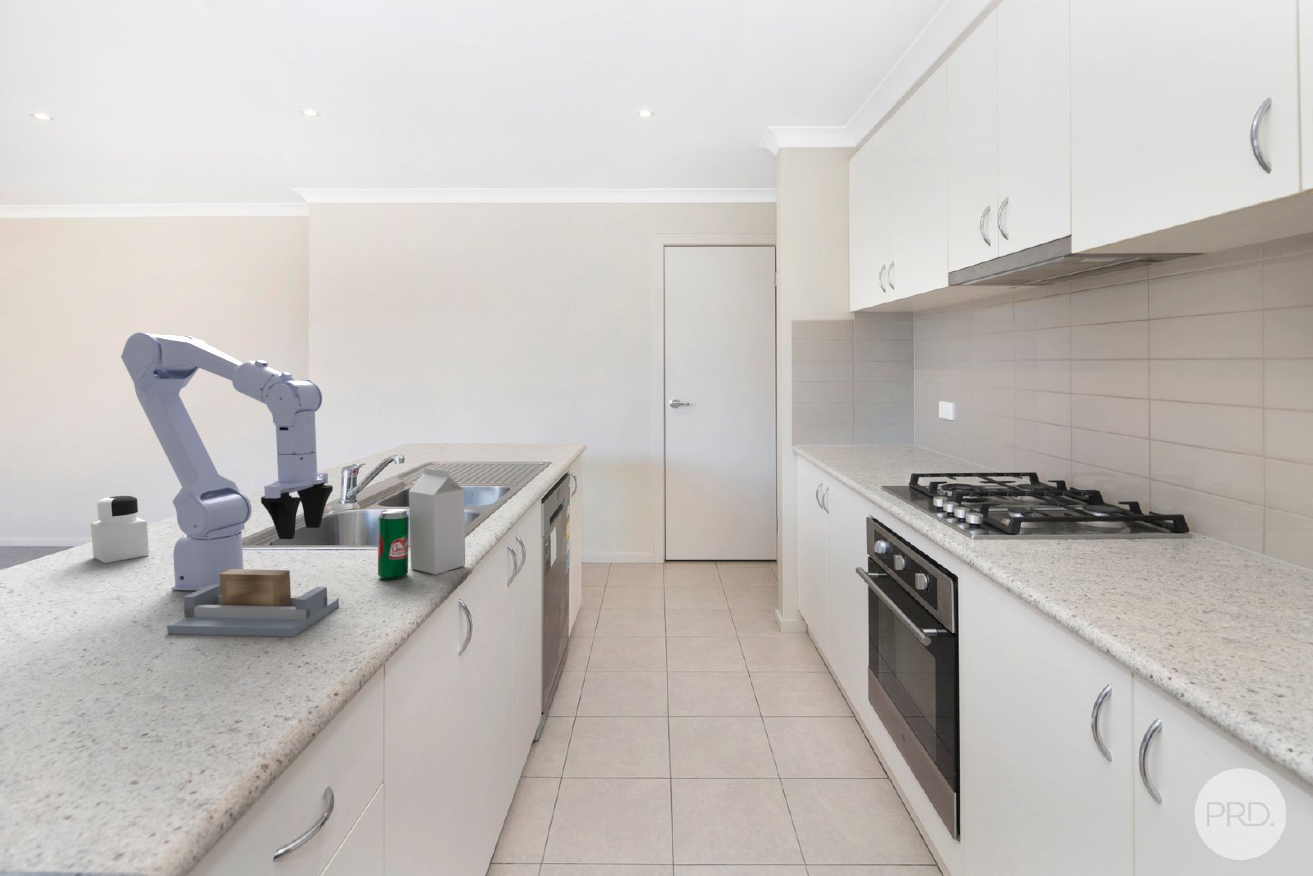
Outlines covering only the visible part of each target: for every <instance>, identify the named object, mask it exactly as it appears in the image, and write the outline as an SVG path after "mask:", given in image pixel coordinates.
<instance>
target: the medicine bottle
mask: <svg viewBox="0 0 1313 876" xmlns="http://www.w3.org/2000/svg"><path fill="white" fill-rule="evenodd" d="M96 504H97V518H98V519H97V521H93V522H91V523H90V528H91V529H90V530H91V543H92V546H91V547H92V556H93V558H95V559H96V560H98V561H100V562H102V563H104V564H108V563H114V562H119V561H125V560H132V559H135V558H142V557H148V556H149V555H150V548H149V547H150V546H149V534H148V533H149V532H148V521H146V520H144V519H142V518H139V517H138V516H139V508H138V507H139V505H138V498H137V497H136V496H135V497H134V496H132V495H116V496H108V497H107V496H106V497H104V498H102V499H99V500H98V501H97V503H96Z"/></svg>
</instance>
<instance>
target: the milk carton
mask: <svg viewBox="0 0 1313 876" xmlns="http://www.w3.org/2000/svg"><path fill="white" fill-rule="evenodd" d="M408 504H409V505H408V506H409V507H408V508H409V514H408V515H409V540H410V546H409V547H410V549H409V550H410V568H411V569H412V570H416V571H421V572H423V573H428V574H431V575H438V574H441V573H444V572H449V571H451V570H454V569H457V568H461V567H464V566H466V532H465V531H466V528H465V527H466V525H465V520H466V519H465V488H463V487H462V486H461V485H460V484H458V483H457V481H455V480H454V479H453V478H452V476H450V470H446V469H439V468H438V469H437V468H428V467H423V474H422V475H421V476H420V477H419V478H418V479H417V480H416V482H415V483H414V484H413V486H412V487H411V488H410V489H408Z"/></svg>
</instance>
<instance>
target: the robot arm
mask: <svg viewBox="0 0 1313 876" xmlns="http://www.w3.org/2000/svg"><path fill="white" fill-rule="evenodd" d="M120 358H121V360H122V362H123V364H124V366H125V368H126V370H127V371H128V374H129V376H130V378H131V380H132V382H133V387H134V392H135V394H136V397H137V400H138V402H139V404H140V405H141V407H142V409H143V411H144V414H145V415H146V418H147V419H148V421H149V424H150V425H151V428H152V429H153V431H154V434H155V436H156V437H157V439H158V442H159V443H160V446H161V447H162V449H163V451H164V454H165V456H166V457H167V459H168V461H169V463H170V466H171V467H172V469H173V472H174V474H175V476H176V477H177V479H178V481H179V483H180V485H181V488H180V490H179V492H178V493H177V494H176V495H175V497H174V498H173V500H172V504H173V506H174V508H175V510H176V520H177V524H178V527H179V528H180V530H181V531H182V532H183V534H184V535H182V536H180V538H179V539H178V540H176V543H175V544H174V547H173V555H172V556H173V567H174V569H173V570H174V586H171V590H172V591H198V590H200V589H202V588H205V587H207V586H209V585H211V584H218V585H220V575H219V574H221V573H223V572H225V571H228V570H230V569H244V553H243V533H242V530H243V531H244V530H245V527H246V526H245V524H246V523H248V521H249V520H250V518H251V517H252V512H253V510H252V504H251V501H250V499H249V498H248V497H247V495H246V494H244V493H243V492H242V491H240V489H239V487H238V486H237V484H236V482H235V481H232V480H231V479H228V478H227V477H224V476H222V475H221V474H219V473H218V471H217V468H216V466H215V465H214V462H213V461H212V458H211V457H210V454H209V453H208V451H207V448H206V446H205V444H204V442H203V440H202V439H201V437H200V436H201V435H199V432H198V430H197V428H196V426H195V425H194V423H193V420H192V418H191V416H190V414H189V412H188V410H187V408H186V406H185V405H184V402H183V400H182V398H181V397H180V392H181V390H182V389H184V388H186V387H187V385H188V384H189V382H190V381H191V380H192V378H193V377H194V376H195V375H196V373H197V371H199V369H202V370H204V371H206V372H208V373H211V374H214V375H216V376H219V377H220V378H221V377H222V378H224V379H227V380H228V381H231V383H232V387H233V388H234V390H235V391H237V393H240V394H242V395H245V396H247V397H249V398H252V399H253V400H255V401H258V402H260V403H262V404H265V405H266V407H267V409H268V410H269V412H270V413H271V414H272V415H271V416H272V423H274V426H275V436H276V439H275V440H276V459H277V461H276V463H277V480H274V481H273V482H271V483H270V484H267V485H264V488H263V489H264V495H263V496H261V497H260V503H261V505H263V507H264V509H265V510H266V511H267V513H268V514H269V516H270V518H271V520H272V522H273V524H274V527H275V530H276V533H277V537H278V539H279V540H292V539H294V538H295V535H296V525H297V524H296V521H297V513H298V508H299V506H300V503H301V506H302V511H303V517H304V519H303V520H304V523H305V526H306V528H307V529H319V528H321V524H322V519H323V516H324V511H325V507H326V505H327V502H328V500H329V498H330V496H331V494H332V493H333V490H334V489H333V488H334V487H333V485H332V484H329V476H328V475H329V474H328V472H318V463H317V462H318V460H317V459H318V458H317V433H316V412H317V411H318V410H319V409H320V408H321V406H322V403H323V394H322V391H321V389H320V388H319V386H318V385H317V384H316V383H314V382H313V381H311V380H310V379H299V380H295V379H294V378H293V375H292V373H289V372H280V371H278V370H275V369H273V368H272V367H269V366H268V365H269V362H267V361H265V360H261V359H260V360H259V359H258V360H257V359H256V360H248V361H246V362H241V361H239V360H237V359H235V358H234V357H232V356H230V355H228V354H226V353H224V352H223V351H221V350H218V349H217V348H215V347H213V346H210V345H209V344H207V342H205V341H204V340H201V339H197V338H195V337H193V336H190V335H181V336H180V335H169V334H168V335H166V334H153V333H147V332H136V333H133V334H131V335H130V336H129V337H128V338H127V340H126V342H125V345H124V347H123V350H122V353H121V356H120ZM327 484H328V485H327ZM296 492H297V495H298V496H292V495H290V494H291V493H296Z"/></svg>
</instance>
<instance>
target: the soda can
mask: <svg viewBox="0 0 1313 876" xmlns="http://www.w3.org/2000/svg"><path fill="white" fill-rule="evenodd" d="M377 525H378V529H377V530H378V531H377V532H378V535H377V575H378V577H379V578H380V579H383V580H399V579H403V578H404V577H406V576H407V575H408V574H409V536H410V515H409V514H408V513H407V509H401V508H393V509H384V510H380V514H379V516H378V524H377Z"/></svg>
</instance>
